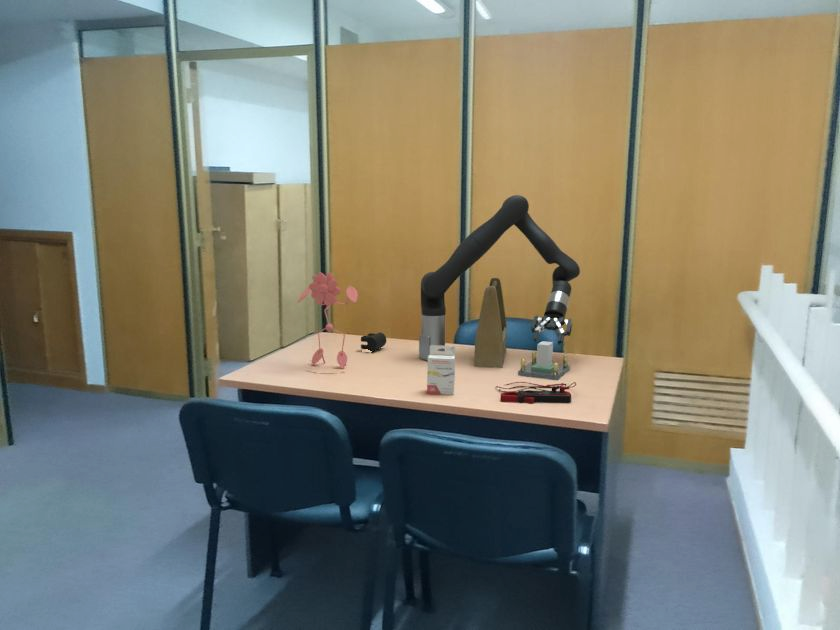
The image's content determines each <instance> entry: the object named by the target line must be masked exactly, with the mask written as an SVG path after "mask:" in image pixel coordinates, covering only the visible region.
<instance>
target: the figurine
mask: <svg viewBox="0 0 840 630" xmlns="http://www.w3.org/2000/svg"><path fill="white" fill-rule="evenodd" d="M312 280H313V282H311V283H310V284H309V285H308V288H306V289H305V290H303V292H302V293H301V294H300V295H299V297H298V299H297V301H296V302H297V304H298V303H300V302H302V300H304V299H305V298H306V297H307V296H308V294H309V293H310V292H311V294H310V297H311V298H313V299H315V302H316V305H318V306H325V305H326V306H327V307H325V309H324V310H323V312H324V315H325V318H326V319H325V320H326V321H327V324H325V327H324V328H323V329H321V330H319V331H318V332H317V333H318V334H317V335H318V345H319V346H318V349H317V350H315V352H314V353H313V355H312V357H311V360H309V362H311V366H314V365H315V364H317V363H318V362H319V361H320V360H322V361H323V364H326V360H325V358H324V349H323V348H322V347H321V341H320V339H321V338H320V333H321V332H323V331H325V330H326V331H329V332H331V331H334V332H337V333H339V334H340V335H343V340H342V347H341V350H340V351H338V353H337V356H336V362H337V364H338V365H339V367H340V368H341V369H344V368H345V367H347V362H348V355H347V353H346V352H345V351H344V345H345V339H346V334H345V333H343V332H341V331H339V330H337V329H335V328H334V326H333V324H332V323H330V322H329V318H328V314H327V310H328V309H329V308H330V307H331V306H332V305H333V304H338V305H342V306H348V303H349V301H351V302H352V303H355V304H356V303H357V301H358V298H359V296H358V295H359V293H358V291H357V289H356V288H355V287H354V286H351V285H348V286H347V288H346V302H345V303H344V302H339V301H338V298H337V296H338V295H340V294H341V293H342V290H341V288H340V287H338V286H337V285H338V281H337V280H336V279H334V276H333V273H332V272H328V273H327V274H326V275H325V274H324V273H323V272H321V271H319V272H318V274H313V275H312ZM305 371H306V372H308V373H309V372H310V373H311V371H309V370H305ZM312 373H313V374H316V372H314V371H312ZM343 373H345V372H344V371H343V372H342V371H341V374H343ZM321 374H323V375H324V374H327V375H334V374H336V372H333V373H332V372H328V373H327V372H325V373H324V372H321Z"/></svg>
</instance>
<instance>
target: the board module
mask: <svg viewBox="0 0 840 630" xmlns="http://www.w3.org/2000/svg"><path fill="white" fill-rule="evenodd" d="M536 345H537V346H536V347H537V348H536V350H537V351H536V352H537V358H536V362H537V363H536V364H535V365H533V366H532V367H531V370H538V371H547V372H551V371H552V370H553V366H554V362H553V357H554V356H553V355H554V353H553V352H554V341H541V342H539V343H537V344H536Z"/></svg>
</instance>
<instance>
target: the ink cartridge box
mask: <svg viewBox="0 0 840 630" xmlns="http://www.w3.org/2000/svg"><path fill="white" fill-rule="evenodd" d="M441 348H443V349H445V351H438V349H441ZM455 349H456V348H455V346H454V345H445V346H434V345H430V349H429V350H430V354H429V356H428V361H427V372H426V373H427V376H426V377H427V378H426V379H427V380H426V394H429V395H430V394H431V395H455V394H454V393H455V378H456V375H455V374H456V369H455V368H456V356H455V355H456V354H455V351H456V350H455Z"/></svg>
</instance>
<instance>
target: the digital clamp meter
mask: <svg viewBox="0 0 840 630" xmlns="http://www.w3.org/2000/svg"><path fill="white" fill-rule="evenodd" d="M519 383H520V384H521V383H522V384H529V385H531V386H525V385H516V386H515V385H514V384H519ZM573 384H574V385H573ZM508 385H514V386H512V387H509V388H505V387H501V386H498V385H497V386H495V388H499V389H498V391H499V392H501V393H500V402H502V403H519V404H521V403H528V404H534V403H542V404H545V403H548V404H549V403H551V404H556V403H557V404H571V402H572V394H571V392H570V391H566V390H569V389H571V388H575V387H576V386H577V382H575V381H574V382H572V383H570V384H568V386H567V383H563V382H561V383H555V384H553V383H552V384H547V385H542V384H537V383H531V382H527V381H515V382H511V383H506V384H505V386H508ZM532 385H533V386H532ZM520 388H522V389H520ZM502 389H504V390H502ZM513 389H518V390H513ZM529 389H530V390H529ZM546 389H551V390H546ZM558 389H559V390H558ZM507 390H509V391H507ZM511 390H512V391H511Z"/></svg>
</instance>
